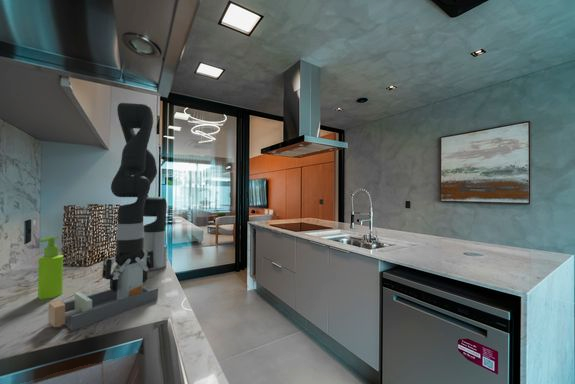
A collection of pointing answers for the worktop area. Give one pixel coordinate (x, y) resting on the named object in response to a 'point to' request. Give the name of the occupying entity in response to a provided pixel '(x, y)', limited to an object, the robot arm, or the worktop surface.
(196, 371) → the worktop surface
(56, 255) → the soap dispenser
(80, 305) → the pusher
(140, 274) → the skincare box
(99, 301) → the pusher lane
